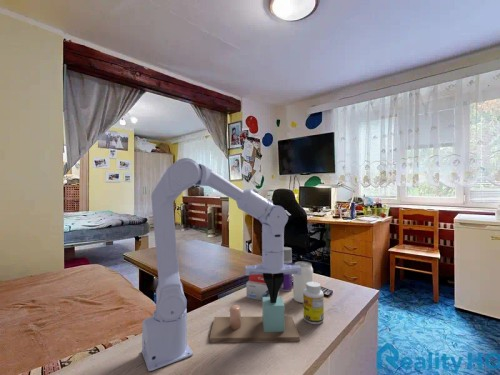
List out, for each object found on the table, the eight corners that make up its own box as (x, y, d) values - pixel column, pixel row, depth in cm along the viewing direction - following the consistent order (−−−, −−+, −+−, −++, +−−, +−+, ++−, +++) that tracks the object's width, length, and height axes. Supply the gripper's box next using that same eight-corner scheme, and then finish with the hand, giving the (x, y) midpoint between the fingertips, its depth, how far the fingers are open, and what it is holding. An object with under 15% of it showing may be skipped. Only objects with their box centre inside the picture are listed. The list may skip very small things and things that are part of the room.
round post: (233, 330, 64) (233, 311, 64) (228, 325, 66) (228, 306, 66) (242, 327, 66) (242, 308, 66) (237, 322, 68) (237, 304, 68)
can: (315, 298, 85) (315, 262, 85) (309, 305, 80) (309, 268, 80) (297, 293, 89) (297, 260, 89) (290, 300, 83) (290, 264, 83)
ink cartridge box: (277, 303, 82) (277, 273, 82) (246, 297, 86) (246, 269, 86) (279, 300, 84) (279, 271, 84) (248, 294, 88) (248, 267, 88)
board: (209, 342, 61) (209, 338, 61) (214, 320, 71) (214, 317, 71) (299, 341, 61) (299, 337, 61) (292, 319, 71) (292, 316, 71)
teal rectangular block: (264, 331, 64) (264, 305, 64) (262, 321, 69) (262, 296, 69) (284, 331, 64) (284, 305, 64) (281, 320, 69) (281, 296, 69)
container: (291, 291, 90) (291, 250, 90) (278, 290, 91) (278, 249, 91) (292, 286, 95) (292, 247, 95) (279, 285, 96) (279, 246, 96)
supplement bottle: (301, 315, 74) (301, 280, 74) (320, 314, 74) (319, 280, 74) (306, 325, 68) (306, 288, 68) (326, 325, 69) (326, 287, 69)
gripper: (297, 246, 70) (297, 294, 70) (245, 246, 70) (245, 295, 70) (302, 252, 63) (303, 306, 63) (245, 253, 63) (245, 307, 63)
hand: (273, 301), depth 66 cm, fingers closed, pressing on teal rectangular block
